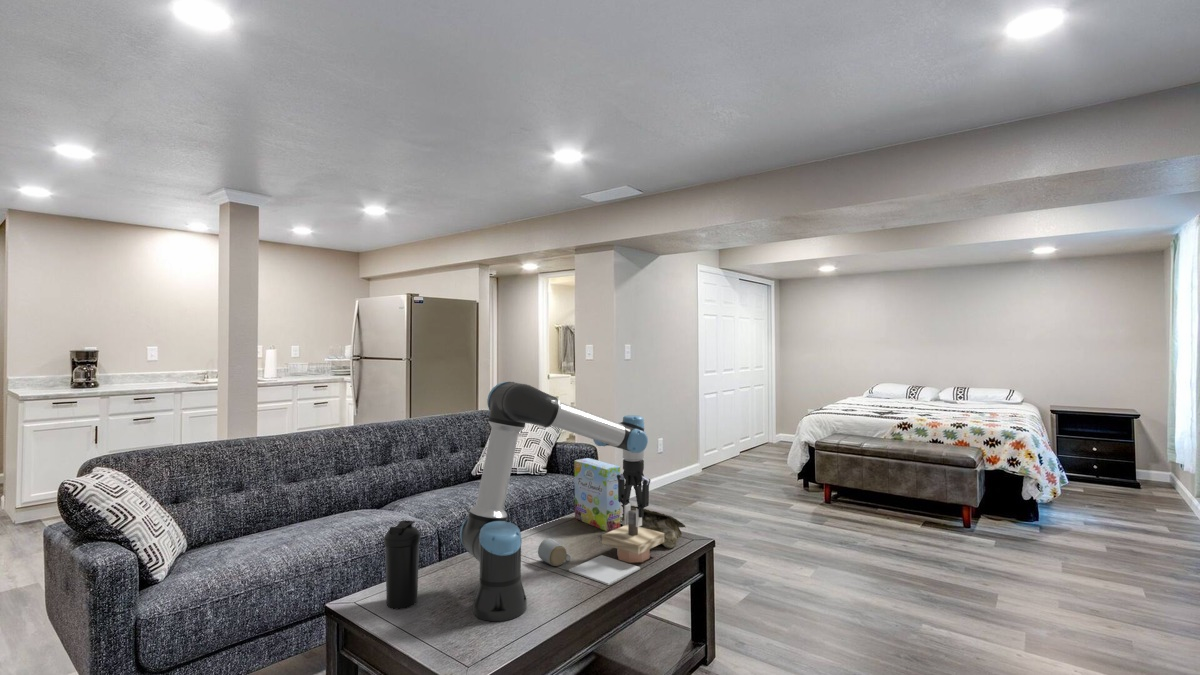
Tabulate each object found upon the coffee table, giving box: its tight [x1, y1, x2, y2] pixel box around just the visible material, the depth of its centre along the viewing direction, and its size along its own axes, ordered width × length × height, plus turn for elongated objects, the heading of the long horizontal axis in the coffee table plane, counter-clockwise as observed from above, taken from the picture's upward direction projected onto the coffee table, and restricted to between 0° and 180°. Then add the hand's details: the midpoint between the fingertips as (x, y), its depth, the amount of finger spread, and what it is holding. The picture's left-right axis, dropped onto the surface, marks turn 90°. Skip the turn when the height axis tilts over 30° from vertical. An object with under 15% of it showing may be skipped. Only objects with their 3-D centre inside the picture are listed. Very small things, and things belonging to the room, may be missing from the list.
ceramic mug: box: [537, 537, 572, 567], centre depth 199 cm, size 11×8×8 cm
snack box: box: [573, 457, 621, 532], centre depth 241 cm, size 22×9×26 cm, turn 41°
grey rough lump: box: [620, 504, 687, 549], centre depth 221 cm, size 28×13×15 cm
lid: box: [601, 510, 664, 555], centre depth 204 cm, size 16×16×11 cm
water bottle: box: [383, 520, 422, 610], centre depth 167 cm, size 10×10×23 cm
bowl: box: [616, 548, 651, 564], centre depth 204 cm, size 11×11×7 cm
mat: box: [568, 554, 641, 586], centre depth 192 cm, size 17×17×1 cm
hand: (633, 524), depth 204 cm, fingers open, 4 cm apart
